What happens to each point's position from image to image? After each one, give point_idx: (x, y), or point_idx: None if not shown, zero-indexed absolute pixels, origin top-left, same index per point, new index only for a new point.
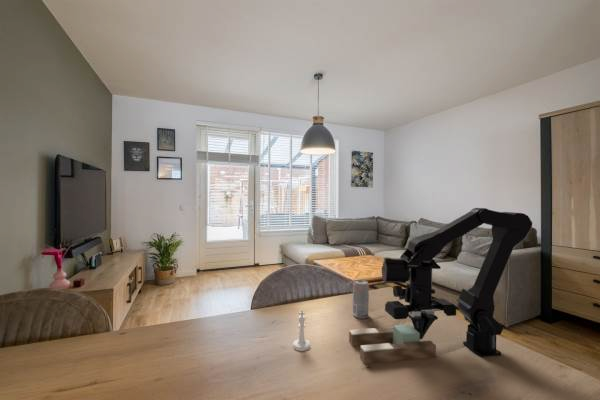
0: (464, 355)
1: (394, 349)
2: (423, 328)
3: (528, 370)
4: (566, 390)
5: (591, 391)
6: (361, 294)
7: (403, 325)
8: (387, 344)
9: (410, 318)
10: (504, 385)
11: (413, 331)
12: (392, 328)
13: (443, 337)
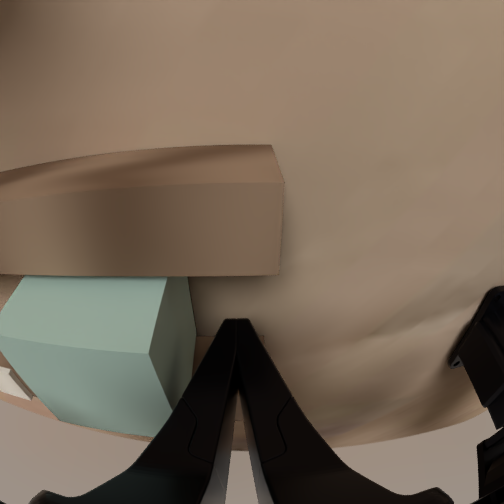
0: (405, 357)
1: (36, 396)
2: (247, 439)
3: (471, 391)
4: (447, 423)
5: (475, 415)
6: None
7: (76, 356)
8: (4, 379)
9: (135, 463)
10: (353, 436)
11: (144, 426)
12: (17, 215)
13: (482, 211)
